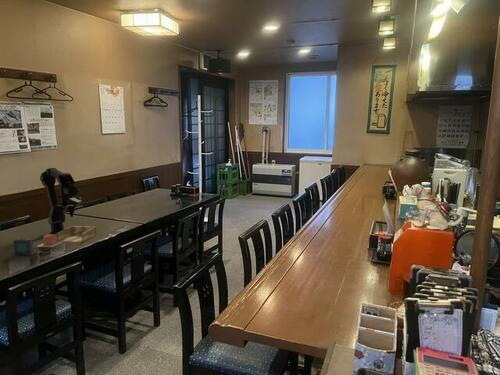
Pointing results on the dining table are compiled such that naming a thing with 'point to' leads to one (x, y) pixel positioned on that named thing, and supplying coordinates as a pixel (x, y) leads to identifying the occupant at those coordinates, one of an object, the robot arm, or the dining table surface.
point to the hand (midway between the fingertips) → (67, 218)
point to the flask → (23, 247)
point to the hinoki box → (76, 233)
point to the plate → (49, 245)
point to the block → (50, 239)
